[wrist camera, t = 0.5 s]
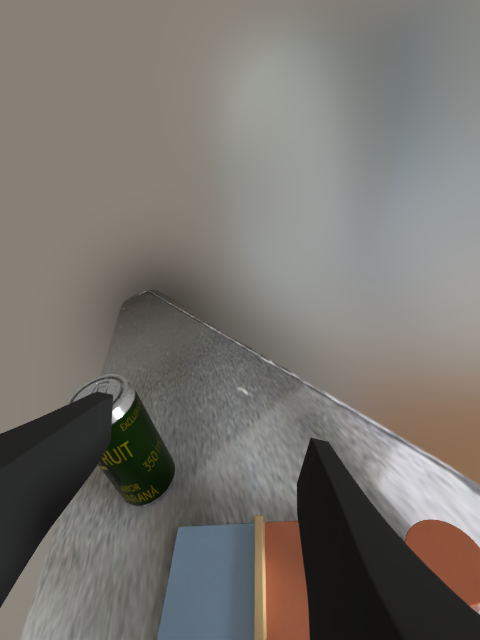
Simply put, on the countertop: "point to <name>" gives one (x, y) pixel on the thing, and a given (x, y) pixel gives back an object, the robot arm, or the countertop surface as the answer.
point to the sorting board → (236, 584)
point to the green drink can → (131, 444)
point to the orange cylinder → (449, 557)
